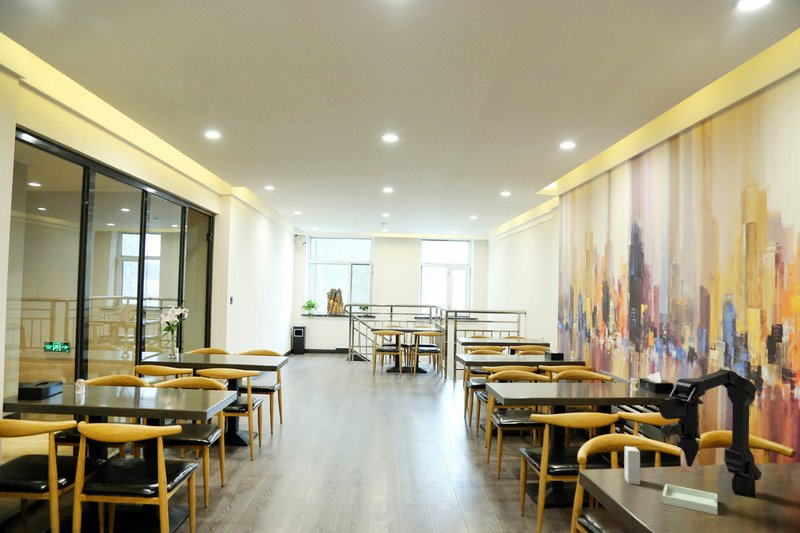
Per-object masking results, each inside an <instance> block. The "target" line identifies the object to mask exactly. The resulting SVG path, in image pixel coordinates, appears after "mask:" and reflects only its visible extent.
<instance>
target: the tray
mask: <svg viewBox="0 0 800 533" xmlns="http://www.w3.org/2000/svg"><path fill="white" fill-rule="evenodd" d="M661 503H662V504H665V505H670V506H674V507H679V508H684V509H688V510H692V511H693V510H694V511H698V512H702V511H703V512H702V513H707V514H712V515H718V493H716V492H715V493H714V492H709V491H704V490H700V489H694V488H688V487H683V486H678V485H673V484H668V483H664V487H663V491H662V495H661Z"/></svg>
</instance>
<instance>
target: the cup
mask: <svg viewBox="0 0 800 533" xmlns="http://www.w3.org/2000/svg"><path fill="white" fill-rule="evenodd" d="M698 454H699V453H697V455H696V457H695V459H694V462H693V464H692V466H691V467H689V466H687V463H686V458H685V454H684V451H683V450H682V449H681V448H680V470H682V471H683V472H685V473H689V474H698V473H699V455H698Z"/></svg>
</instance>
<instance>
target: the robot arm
mask: <svg viewBox="0 0 800 533" xmlns="http://www.w3.org/2000/svg"><path fill="white" fill-rule="evenodd" d="M720 386H722V387H724V388H725V389H726V393H727V394H726V395H727V397H728V399H729V400H730V402H731V405H732V416H731V418H732V419H731V422H732V423H731V428H732V429H731V445H730V446H729V448H727V449H726V448H725V450H724V459H723V460H724V461H725V465H726V469H727V472H728V473H731V474H733V476H731V491H733V494H734V495H739V496H743V497H749V498H754V499H756V498H757V494H756V481H759V480H761V478H762V474H763V472H762V471H761V470H760V469H759V468H758V467H757V465H756V463H755V462H756V461H755V456H754V454H753V453H752V451H751V449H750V446H749V445H750V406H751V405H752V403H753V402H754V401H755V400H756V393H757V387H756V385H755V384H754V383H753V382H752V381H750V380H748V379H747V378H744V377H743V376H741V375H739V374H738V373H737V372H735V371H734V370H730V369H722V368H721V369H718V370H717V371H715V372H711V373H708V374H705V375H703V376H700V377H695V378H694V377H693V378H691V377H690V378H687V377H686V378H680V379H678V380H676V384H675V385H674V387H673V389H672V391H671V392H670V395H669V396H668V397H665V398H664V399H663V400H664V401H663V402H661V403H660V404H659V408H658V410H659V414H660V415H661V417H662V418H663V419H665V420H677V419H678V421H677V422H672V423H667V424H662V425H661V426H660V429H661V433H662V436H663V437H664V438H667V437H669V436H674V435H677V436H678V438H677V442H676V443H677V445H676V446H677V448H680V450H681V449H682V450H683V451H684V454H685V458H686V463H687V466H689V467H691V466H692V464H693V462H694V459H695V457H696V455H697V453H698V452H699V451H700V444H701V439H702V438H701V431H700V415H699V414H700V413H699V412H700V411H699V405H703V404H704V401H703V400H702V399H700V398H701V397H702V396H704V395H706V391H709V390H712V389H714V388H717V387H720ZM698 454H699V453H698Z"/></svg>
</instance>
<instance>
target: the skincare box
mask: <svg viewBox="0 0 800 533" xmlns="http://www.w3.org/2000/svg"><path fill="white" fill-rule="evenodd" d="M623 475H624V476H623V477H624V480H625V481H626V483H627V484H630V485H638V486H639V485H641V452H640V450H639V449H638V448H637V446H636V447H635V446H627V445H625V446H624V474H623Z"/></svg>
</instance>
